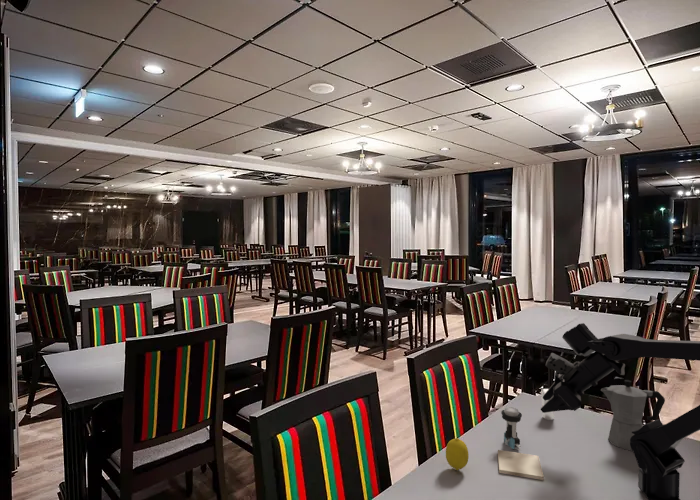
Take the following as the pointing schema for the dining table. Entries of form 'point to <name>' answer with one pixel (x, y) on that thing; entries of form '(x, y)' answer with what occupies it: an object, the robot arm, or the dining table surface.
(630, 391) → the coffeepot
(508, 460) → the birch pad
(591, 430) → the dining table surface
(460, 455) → the lemon
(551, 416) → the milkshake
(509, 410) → the push button
